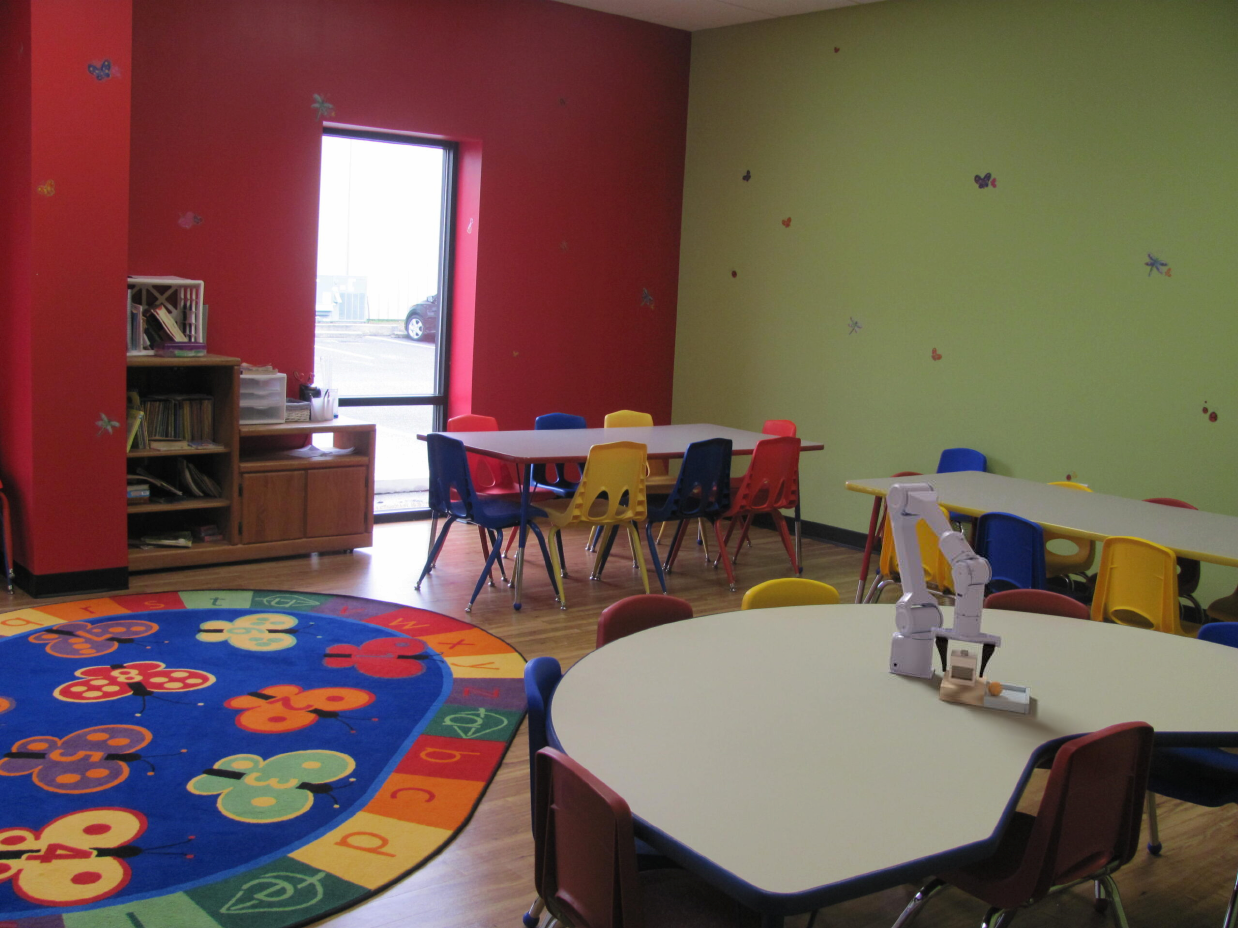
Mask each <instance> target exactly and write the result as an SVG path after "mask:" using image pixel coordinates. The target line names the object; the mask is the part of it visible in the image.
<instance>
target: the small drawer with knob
mask: <svg viewBox="0 0 1238 928" xmlns="http://www.w3.org/2000/svg"><path fill="white" fill-rule="evenodd" d="M950 652H951V653H950V656H949V657H950V658H949V668H948V669H949V678H948V683H955V684H961V685H967V686H974V684H975V680H976V675H977V668H978V658H979V657H978V656H979V652H974V651H969V650H967V649H954V648H952V649H951V651H950ZM952 676H954V677H961V678H967V679H972V681H969V680H962V679H956V678H952Z"/></svg>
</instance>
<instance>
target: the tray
mask: <svg viewBox="0 0 1238 928" xmlns="http://www.w3.org/2000/svg"><path fill="white" fill-rule="evenodd" d="M991 682H994V681H993V680H992V681H991V680H987V685H986V691H985V696H984V702H983V706H982V707H983V708H989V709H997V710H1002V711H1008V712H1009V711H1010V712H1013V713H1014V712H1016V713H1021V714H1027V715H1028V714H1029V711H1030V710H1029V709H1030V694H1031V693H1030V692H1031V686H1025V685H1019V684H1018V685H1017V684H1012V683H1005V682H999V683H1000V684H1001V685H1002V687H1003V691H1002V693H1001V694H1000V695H992V694H991V693H990V692H989V690H988V686H989V684H990V683H991Z"/></svg>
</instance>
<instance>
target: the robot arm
mask: <svg viewBox="0 0 1238 928" xmlns="http://www.w3.org/2000/svg"><path fill="white" fill-rule="evenodd" d="M885 499H886V504H887V510H888V517H889V521H890V526H891V531H892V536H893V542H894V548H895V553H896V559H897V565H898V571H899V576H900V581H901V589H902V593H903V595H902V596H901V597H900V598H899V599H898V601H896V603H895V605H894V606H895V619H894V620H895V621H894V622H895V627H896V629H897V630H898V631H894V632H893V634H892V637H891V644H890V645H891V646H890V655H889V670H888V672H889V673H890V674H896V675H903V676H909V677H916V678H921V679H928V680H931V679H932V678H933V675H934V672H935V667H933V658H934V657H933V655H934V644H935V647H936V648H937V651H938V654H939V657H940V660H941V670H942V673H945V672H946V670H948V669H947V668H948V667H947V666H948V648H949V647H948V646H949V641H950V640H951V641H959V642H965V643H972V644H979V645H982V648H981V650H982V651H981V660H980V662H981V664H980V668H979V674H978V675H979V678H983V676H984V673H985V668H986V667H987V664H988V662H989V661H990V659H991V657H992V656H993V654H994V652H995V649H996V648H1002V647H1001V645H1002V636H999V635H998V636H997V635H994V634H988V633H985V632H981V628H982V627H981V626H982V619H983V618H982V615H983V606H984V597H985V596H984V595H985V585H987V584H988V583H989V582H990V581H991V579H992V574H993V573H992V572H993V571H992V566H991V564H990V563H989V561H988V559H986V558H985V557H981V556H980V555H979V554H976V553H975V552H974V550H973V548H972V547H971V545H970V544H969V543H968V541H967V540H966V537H965V535H964V534H963V533H961V532H960V531H954V529H953V528H952V526H951V524H950V522H949V521H948V519H947V517H946V516H945V514H944V512H943V511H942V508H941V507H940V505H939V493H937V491H936V489H935V487H934V486H933V485H932V484H931V483H929V482H923V483H894V484H892V485H891V486H890V488H889V490H888V492H887V494H886V496H885ZM921 519H922V520H924V521H925V522H926V524H927V525H928V526H929V528H930V529H931V530H932V532H934V534H935V535H936V537H938V539H939V540H938V548H939V550H940V551H941V552H942V554H943V556H944V557H945V558H946V560H947V562H948V563H949V565H950V566H951V568H952V569H951V577H952V581H953V585H954V586H953V589H954V592H955V600H954V610H953V623H952V628H949V627H947V628H945V627H944V614H943V612H942V609H941V608H940V606H939V601H938V599H937V598H936V597H935V596H934V595H932V594H931V593H930V592H928V588H927V582H926V577H925V571H924V567H923V562H922V561H923V559H922V555H921V552H920V551H921V550H920V545H919V539H918V538H919V537H918V534H917V528H916V525H917V523H918V522H919V521H921ZM914 606H915V607H914Z"/></svg>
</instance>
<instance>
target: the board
mask: <svg viewBox="0 0 1238 928" xmlns="http://www.w3.org/2000/svg"><path fill="white" fill-rule="evenodd" d="M943 673H944V674H943V676H942V680H941V682H940V683H941V684H940V689H939V698H938V699H939V701H941V700H942V701H946V702H954V703H958V704H959V703H960V704H966V705H972V706H977V707H978V706H979V707H983V702H984V696H985V691H986V685H987V681H988V676H987V675H983V678H979V674H976V680H975V684H974V686H967V685H961V684H955V683H948V678H949V670H948V669H946V672H943ZM952 678H956V679H962V680H969V681H972V679H967V678H961V677H954V676H952Z"/></svg>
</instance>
